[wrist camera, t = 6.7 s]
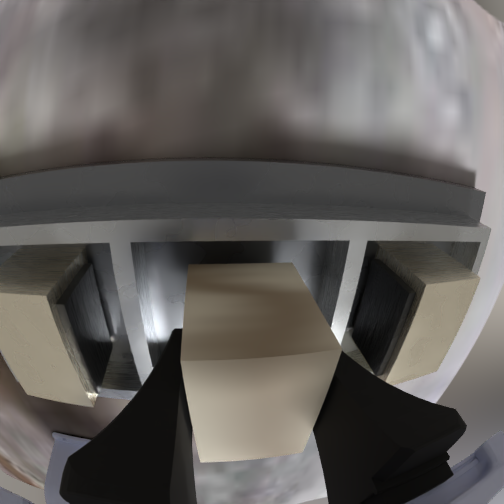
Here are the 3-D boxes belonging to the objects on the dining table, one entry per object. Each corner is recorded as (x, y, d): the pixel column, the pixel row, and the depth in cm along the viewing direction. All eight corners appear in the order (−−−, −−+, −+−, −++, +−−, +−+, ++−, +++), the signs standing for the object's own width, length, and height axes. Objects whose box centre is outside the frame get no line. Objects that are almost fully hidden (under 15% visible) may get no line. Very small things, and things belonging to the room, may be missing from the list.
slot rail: (28, 365, 15) (4, 416, 10) (-30, 184, 9) (-89, 213, 5) (422, 349, 19) (454, 390, 15) (475, 188, 14) (532, 213, 10)
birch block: (197, 373, 13) (200, 462, 9) (188, 264, 11) (180, 360, 6) (277, 368, 14) (302, 452, 9) (292, 262, 11) (342, 348, 7)
